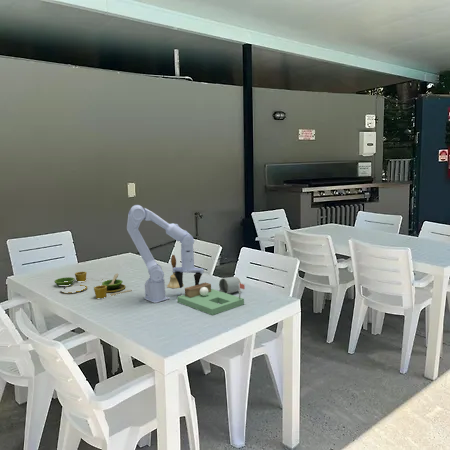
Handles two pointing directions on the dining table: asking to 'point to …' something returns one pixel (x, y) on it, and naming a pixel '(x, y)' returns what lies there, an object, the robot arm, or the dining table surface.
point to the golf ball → (204, 291)
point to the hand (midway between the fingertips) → (189, 287)
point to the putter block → (196, 289)
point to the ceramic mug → (229, 285)
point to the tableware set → (99, 290)
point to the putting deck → (213, 301)
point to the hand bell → (173, 280)
